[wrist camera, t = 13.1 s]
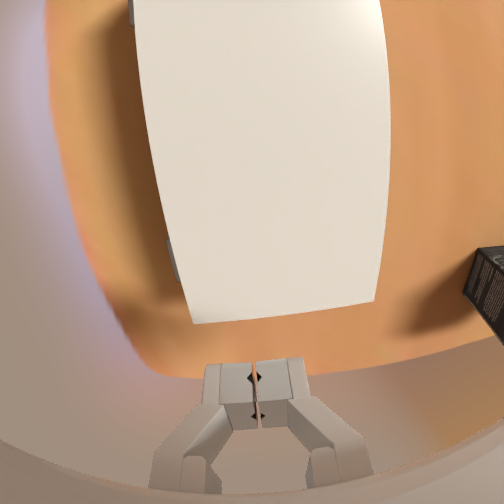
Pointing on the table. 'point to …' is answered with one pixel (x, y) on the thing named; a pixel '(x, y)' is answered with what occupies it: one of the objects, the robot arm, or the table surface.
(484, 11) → the table surface
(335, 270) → the cover
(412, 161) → the table surface
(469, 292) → the box
